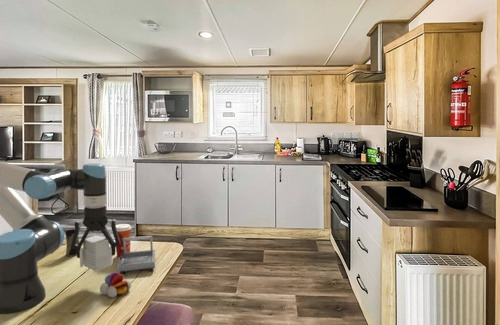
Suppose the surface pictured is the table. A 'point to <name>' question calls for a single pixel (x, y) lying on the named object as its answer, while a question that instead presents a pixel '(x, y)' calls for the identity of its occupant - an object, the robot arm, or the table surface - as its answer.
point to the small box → (96, 253)
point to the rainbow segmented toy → (114, 285)
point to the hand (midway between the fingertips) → (96, 264)
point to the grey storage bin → (137, 257)
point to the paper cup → (123, 232)
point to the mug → (68, 243)
